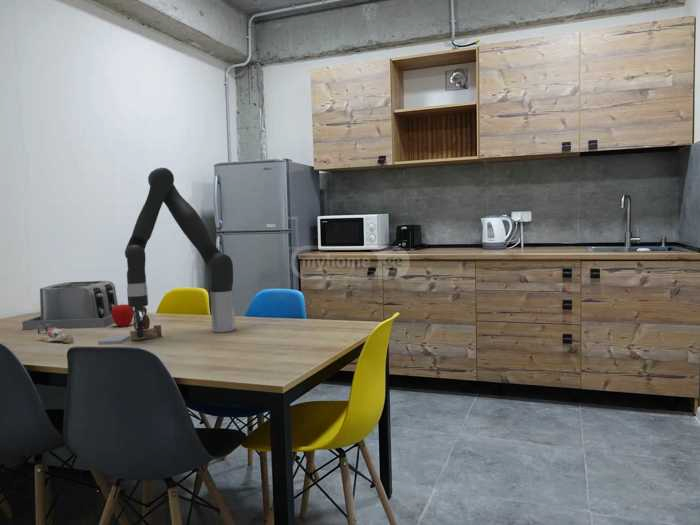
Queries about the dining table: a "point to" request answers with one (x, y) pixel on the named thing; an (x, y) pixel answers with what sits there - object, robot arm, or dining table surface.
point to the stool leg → (147, 333)
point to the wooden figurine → (146, 321)
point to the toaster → (77, 300)
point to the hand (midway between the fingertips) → (140, 337)
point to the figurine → (55, 334)
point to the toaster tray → (68, 323)
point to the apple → (122, 315)
